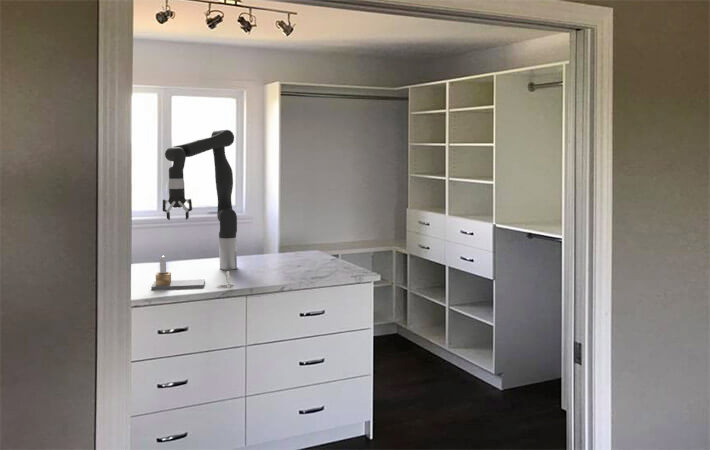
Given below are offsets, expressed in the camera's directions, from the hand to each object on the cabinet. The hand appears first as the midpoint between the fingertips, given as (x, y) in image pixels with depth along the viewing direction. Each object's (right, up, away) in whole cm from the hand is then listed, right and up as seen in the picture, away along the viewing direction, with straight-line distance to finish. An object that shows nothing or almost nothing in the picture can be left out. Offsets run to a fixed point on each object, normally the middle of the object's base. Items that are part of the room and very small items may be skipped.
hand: (177, 219), depth 319 cm
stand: (+27, -33, -14) cm, 45 cm away
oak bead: (-3, -31, -15) cm, 34 cm away
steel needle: (-3, -31, -15) cm, 34 cm away
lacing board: (+4, -32, -13) cm, 35 cm away
